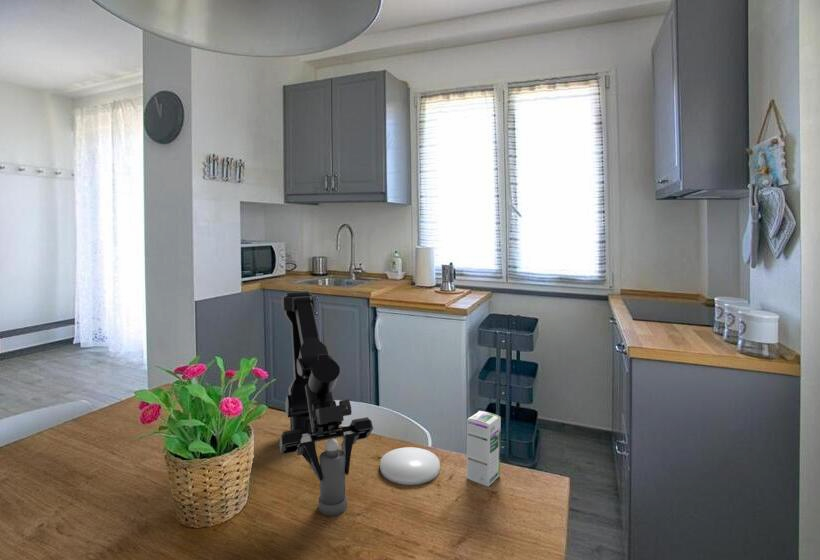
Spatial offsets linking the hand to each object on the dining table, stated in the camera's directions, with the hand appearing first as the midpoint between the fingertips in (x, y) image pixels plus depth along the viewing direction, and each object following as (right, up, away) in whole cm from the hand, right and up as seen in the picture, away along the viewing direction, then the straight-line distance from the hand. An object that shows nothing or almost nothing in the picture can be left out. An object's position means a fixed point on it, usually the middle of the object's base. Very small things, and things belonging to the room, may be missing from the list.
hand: (334, 477), depth 86 cm
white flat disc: (+15, -5, +17) cm, 23 cm away
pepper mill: (-1, -7, +2) cm, 7 cm away
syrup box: (+32, -6, +13) cm, 35 cm away
